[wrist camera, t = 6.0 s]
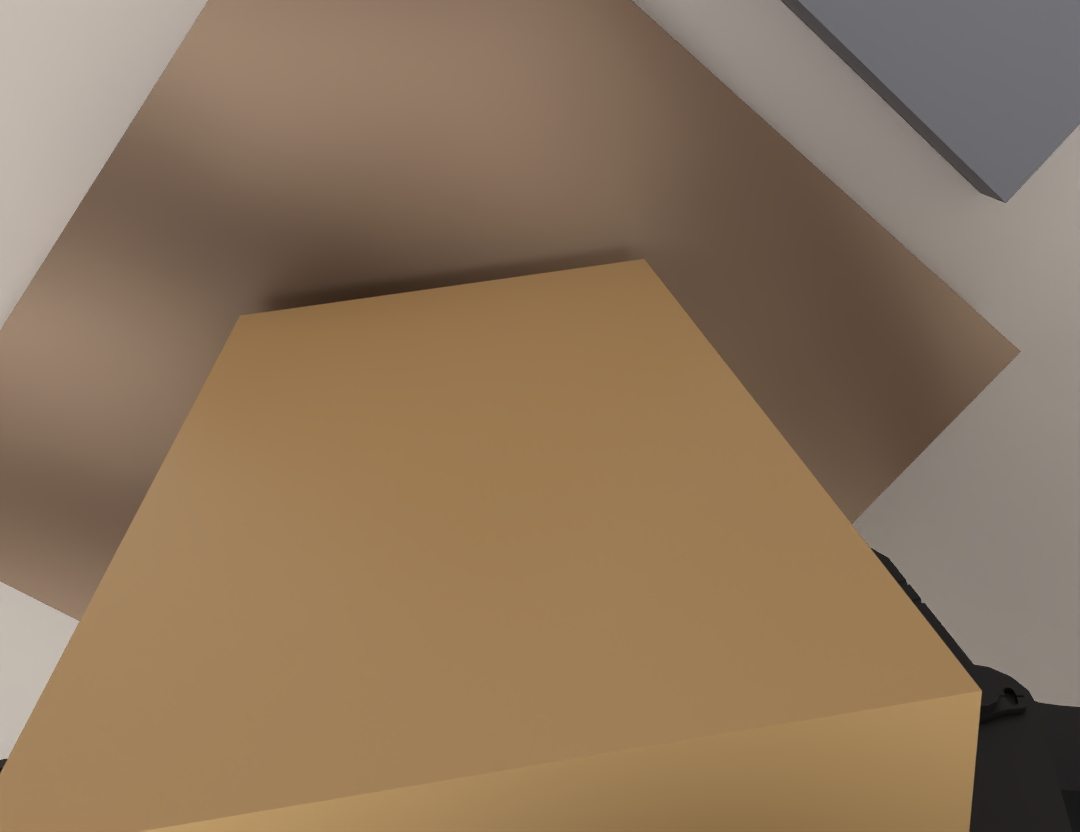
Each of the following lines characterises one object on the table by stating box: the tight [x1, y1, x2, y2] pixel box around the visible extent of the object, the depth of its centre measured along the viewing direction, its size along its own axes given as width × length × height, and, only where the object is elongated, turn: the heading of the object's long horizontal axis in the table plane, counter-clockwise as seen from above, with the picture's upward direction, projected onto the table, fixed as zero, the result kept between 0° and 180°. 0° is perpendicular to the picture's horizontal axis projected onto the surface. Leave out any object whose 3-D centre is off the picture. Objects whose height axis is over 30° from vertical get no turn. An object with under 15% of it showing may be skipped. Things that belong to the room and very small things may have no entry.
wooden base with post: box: [0, 0, 1021, 621], centre depth 17 cm, size 16×16×11 cm
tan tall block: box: [0, 259, 982, 832], centre depth 13 cm, size 7×7×12 cm
